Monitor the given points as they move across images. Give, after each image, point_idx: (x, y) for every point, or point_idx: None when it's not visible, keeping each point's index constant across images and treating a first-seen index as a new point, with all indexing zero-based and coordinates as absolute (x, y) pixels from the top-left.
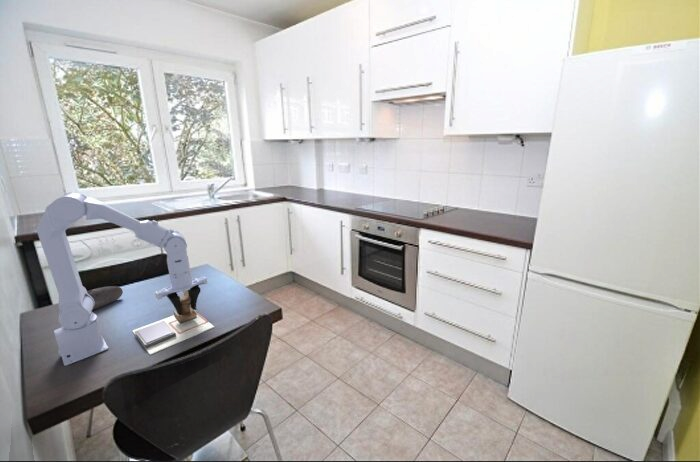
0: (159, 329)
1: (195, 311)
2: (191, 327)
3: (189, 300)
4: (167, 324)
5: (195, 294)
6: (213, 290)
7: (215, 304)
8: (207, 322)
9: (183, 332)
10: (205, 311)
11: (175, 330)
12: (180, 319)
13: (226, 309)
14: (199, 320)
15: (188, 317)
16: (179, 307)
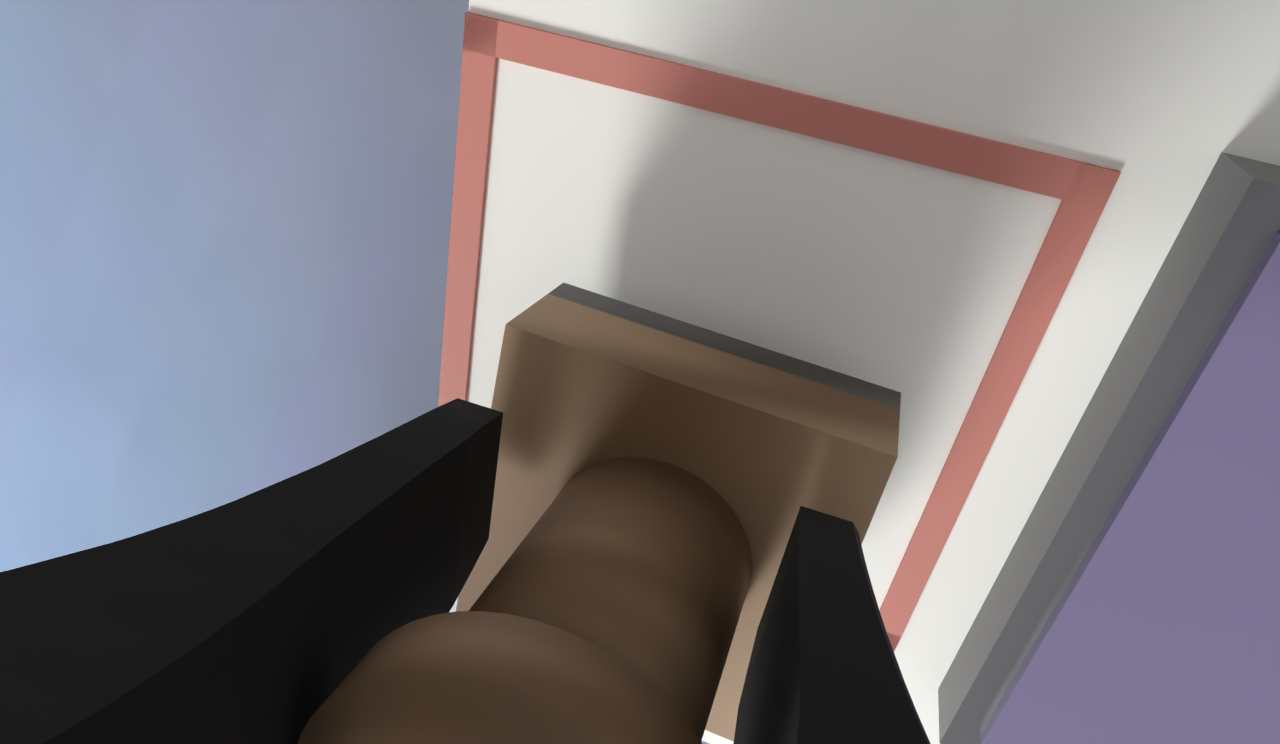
0: (1266, 598)
1: None
2: (797, 156)
3: (414, 660)
4: (1015, 604)
5: (15, 669)
6: None
7: (143, 432)
8: (495, 13)
9: (1028, 134)
10: (331, 410)
11: (1030, 361)
12: (882, 437)
13: (58, 131)
14: (548, 241)
15: (704, 366)
16: (838, 677)
